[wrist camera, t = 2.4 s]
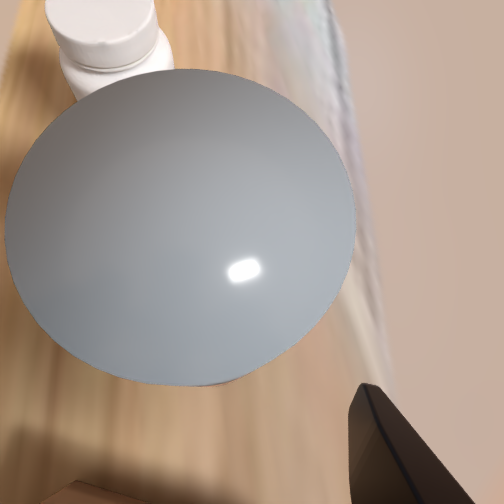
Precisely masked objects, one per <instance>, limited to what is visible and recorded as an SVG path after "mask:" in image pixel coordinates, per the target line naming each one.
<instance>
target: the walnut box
mask: <svg viewBox="0 0 504 504" xmlns="http://www.w3.org/2000/svg"><path fill="white" fill-rule="evenodd" d="M39 504H151V503H147V502H144V501H141V500H138V499H134V498H131V497H128V496H125V495H121V494H118V493H115V492H112V491H108V490H105V489H102V488H99V487H95V486H92V485H89V484H86V483H82V482H79V481H74V482H73V483H71V484H69V485H68V486H66V487H65V488H63V489H61V490H60V491H58V492H57V493H55V494H54V495H52V496H50V497H49V498H47V499H46V500H44V501H43V502H41V503H39Z"/></svg>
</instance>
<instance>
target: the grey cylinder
mask: <svg viewBox="0 0 504 504" xmlns="http://www.w3.org/2000/svg"><path fill="white" fill-rule="evenodd" d="M355 235H356V209H355V203H354V196H353V190H352V187H351V184H350V180H349V177H348V174H347V171H346V169H345V167H344V165H343V162H342V160H341V158H340V156H339V154H338V152H337V151H336V149H335V148H334V146H333V144H332V143H331V141H330V140H329V138H328V137H327V136H326V134H325V133H324V132H323V131H322V130H321V128H320V127H319V126H318V125H317V123H315V122H314V121H313V120H312V119H311V118H310V117H309V116H308V115H307V114H306V113H305V112H304V111H303V110H302V109H300V108H299V107H298V106H296V105H295V104H294V103H292V102H291V101H290V100H288V99H287V98H285V97H283V96H282V95H280V94H278V93H277V92H275V91H273V90H272V89H269V88H267V87H265V86H263V85H261V84H258V83H256V82H254V81H251V80H248V79H245V78H242V77H239V76H236V75H231V74H227V73H222V72H217V71H209V70H200V69H171V70H161V71H154V72H149V73H144V74H139V75H135V76H132V77H129V78H125V79H122V80H119V81H116V82H114V83H112V84H109V85H107V86H105V87H102V88H100V89H98V90H96V91H94V92H93V93H91V94H89V95H87V96H86V97H84V98H82V99H80V100H79V101H78V102H76V103H75V104H74V105H72V106H71V107H69V108H68V109H67V110H65V111H64V112H63V113H62V114H61V115H60V116H59V117H57V118H56V119H55V120H54V121H53V122H52V123H51V124H50V125H49V126H48V127H47V128H46V129H45V131H44V132H43V133H42V134H41V135H40V136H39V137H38V139H37V140H36V141H35V143H34V144H33V146H32V147H31V149H30V150H29V152H28V153H27V155H26V156H25V158H24V160H23V162H22V164H21V166H20V168H19V170H18V172H17V174H16V176H15V179H14V182H13V185H12V188H11V191H10V194H9V198H8V204H7V210H6V215H5V246H6V254H7V261H8V265H9V268H10V271H11V275H12V278H13V282H14V284H15V286H16V288H17V290H18V293H19V295H20V297H21V299H22V301H23V303H24V305H25V306H26V308H27V309H28V310H29V312H30V313H31V315H32V316H33V318H34V319H35V321H36V322H37V323H38V324H39V326H40V327H41V328H42V329H43V330H44V331H45V332H46V333H47V334H48V335H49V336H50V337H51V338H52V339H53V340H54V341H55V342H56V343H58V344H59V345H60V346H61V347H63V348H64V349H65V350H67V351H68V352H69V353H70V354H72V355H73V356H75V357H76V358H78V359H80V360H82V361H84V362H85V363H87V364H89V365H91V366H93V367H94V368H96V369H99V370H101V371H104V372H107V373H109V374H112V375H115V376H117V377H120V378H124V379H128V380H133V381H137V382H142V383H146V384H158V385H171V386H198V387H215V386H221V385H226V384H229V383H232V382H234V381H236V380H238V379H240V378H242V377H244V376H246V375H247V374H249V373H251V372H252V371H254V370H256V369H258V368H259V367H261V366H263V365H264V364H266V363H268V362H270V361H271V360H273V359H275V358H276V357H278V356H279V355H280V354H282V353H283V352H285V351H286V350H288V349H289V348H291V347H292V346H294V345H295V344H296V343H297V342H298V341H299V340H300V339H301V338H303V337H304V336H305V335H306V334H307V333H308V332H309V331H310V330H311V329H312V328H313V327H314V326H315V325H316V324H317V322H318V321H319V320H320V319H321V318H322V316H323V315H324V314H325V313H326V311H327V310H328V309H329V307H330V305H331V304H332V302H333V300H334V299H335V297H336V296H337V294H338V292H339V291H340V288H341V286H342V284H343V281H344V279H345V277H346V274H347V272H348V269H349V265H350V262H351V258H352V254H353V251H354V243H355Z"/></svg>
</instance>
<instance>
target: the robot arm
mask: <svg viewBox="0 0 504 504" xmlns="http://www.w3.org/2000/svg"><path fill="white" fill-rule="evenodd" d="M348 441H349V484H350V494H351V502H352V504H475V503H474V502H473V500H472V499H471V498H470V497H469V496H468V494H467V493H466V492H465V491H464V489H463V488H462V487H461V486H460V485H459V483H458V482H457V481H456V480H455V478H454V477H453V476H452V475H451V474H450V473H449V471H448V470H447V469H446V467H445V466H444V465H443V464H442V463H441V461H440V460H439V459H438V458H437V456H436V455H435V454H434V453H433V452H432V450H431V449H430V448H429V447H428V446H427V444H426V443H425V442H424V441H423V440H422V438H421V437H420V436H419V435H418V433H417V432H416V431H415V430H414V429H413V427H412V426H411V425H410V424H409V422H408V421H407V420H406V419H405V417H404V416H403V415H402V414H401V413H400V411H399V410H398V409H397V408H396V406H395V405H394V404H393V403H392V402H391V400H390V399H389V398H388V397H387V395H386V394H385V393H384V392H383V391H382V389H381V388H380V387H378V386H376V385H372V384H368V383H361V384H360V385H359V387H358V389H357V392H356V394H355V396H354V398H353V401H352V403H351V405H350V408H349V413H348Z"/></svg>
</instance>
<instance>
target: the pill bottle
mask: <svg viewBox="0 0 504 504" xmlns="http://www.w3.org/2000/svg"><path fill="white" fill-rule="evenodd" d="M45 13H46V17H47V20H48V22H49V25H50V27H51V29H52V31H53V34H54V36H55V38H56V41H57V43H58V45H59V46H60V50H59V61H60V65H61V68H62V71H63V74H64V76H65V79H66V81H67V83H68V85H69V86H70V88H71V90H72V92H73V94H74V96H75V98H76V100H77V101H79V100H80V99H82V98H84V97H86V96H87V95H89V94H91V93H93V92H94V91H96V90H98V89H100V88H102V87H105V86H107V85H109V84H112V83H114V82H116V81H119V80H122V79H125V78H129V77H132V76H135V75H139V74H144V73H149V72H154V71H161V70H171V69H175V68H174V62H173V55H172V51H171V47H170V44H169V41H168V39H167V37H166V36H165V34H164V33H163V31H162V30H161V29H160V28H159V26H158V22H157V15H156V10H155V6H154V1H153V0H46V1H45Z"/></svg>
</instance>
